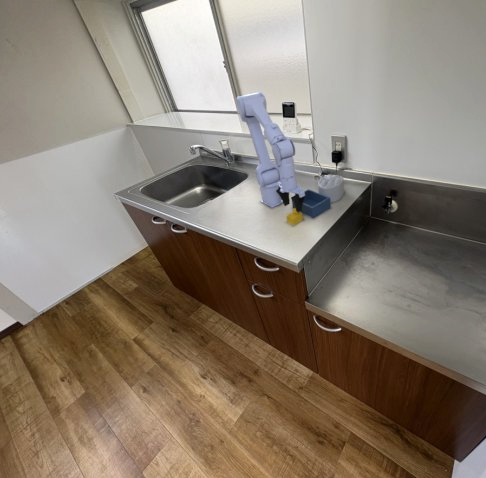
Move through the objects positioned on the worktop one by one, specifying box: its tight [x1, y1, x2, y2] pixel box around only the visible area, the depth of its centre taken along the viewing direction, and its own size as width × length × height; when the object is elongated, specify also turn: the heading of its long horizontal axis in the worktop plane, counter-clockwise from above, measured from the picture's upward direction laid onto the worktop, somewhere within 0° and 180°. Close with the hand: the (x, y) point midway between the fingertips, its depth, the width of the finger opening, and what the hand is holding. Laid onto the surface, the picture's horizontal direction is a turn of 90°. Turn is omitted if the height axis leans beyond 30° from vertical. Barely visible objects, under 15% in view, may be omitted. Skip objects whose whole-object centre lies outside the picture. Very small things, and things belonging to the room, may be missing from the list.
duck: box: [285, 208, 304, 226], centre depth 100 cm, size 4×6×6 cm
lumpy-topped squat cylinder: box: [317, 174, 345, 204], centre depth 111 cm, size 10×13×9 cm
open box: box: [291, 188, 332, 219], centre depth 106 cm, size 13×10×5 cm
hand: (293, 207), depth 97 cm, fingers open, 7 cm apart
